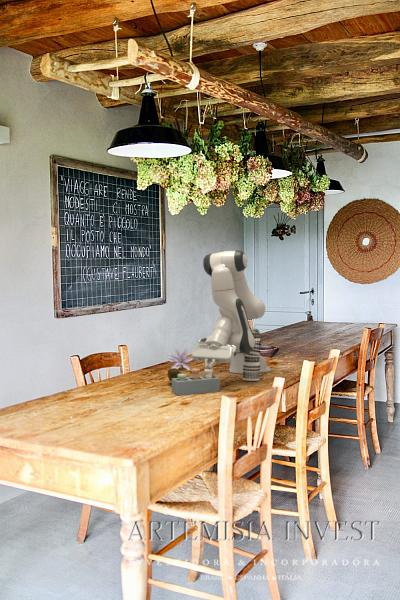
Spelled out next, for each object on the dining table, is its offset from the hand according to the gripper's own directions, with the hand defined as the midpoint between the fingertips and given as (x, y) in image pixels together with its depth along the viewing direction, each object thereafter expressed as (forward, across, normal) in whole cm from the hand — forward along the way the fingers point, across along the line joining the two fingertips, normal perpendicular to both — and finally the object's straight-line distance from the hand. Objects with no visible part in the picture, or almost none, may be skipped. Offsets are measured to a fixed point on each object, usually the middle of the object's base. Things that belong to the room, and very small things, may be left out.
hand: (208, 368), depth 281 cm
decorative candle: (-14, -9, -28) cm, 32 cm away
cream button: (+5, 0, -6) cm, 8 cm away
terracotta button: (+8, +4, -2) cm, 9 cm away
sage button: (+13, +9, 0) cm, 15 cm away
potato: (+2, +21, -13) cm, 25 cm away
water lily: (-23, +38, -37) cm, 58 cm away
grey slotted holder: (+10, +4, -4) cm, 12 cm away
